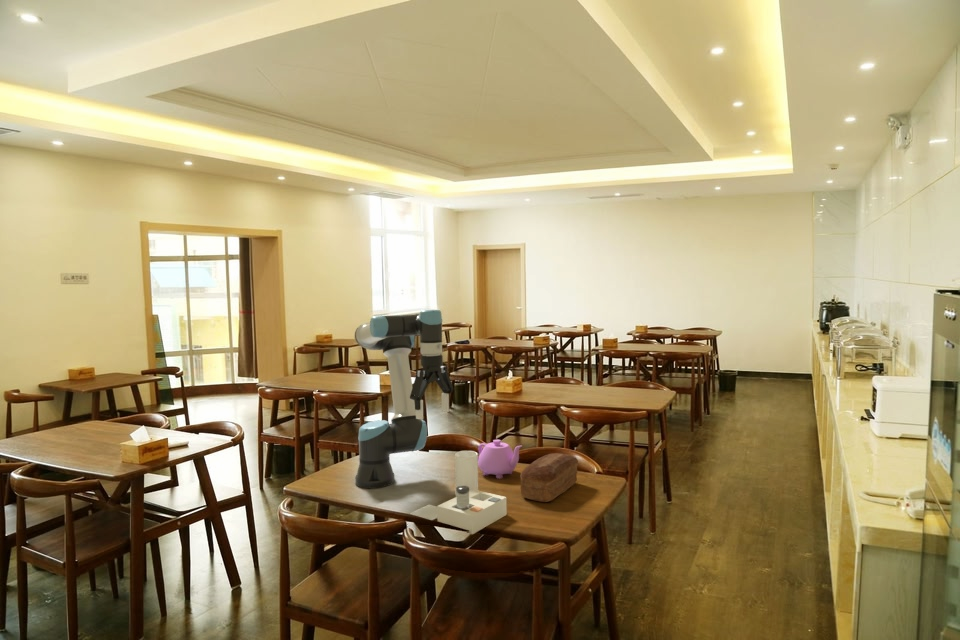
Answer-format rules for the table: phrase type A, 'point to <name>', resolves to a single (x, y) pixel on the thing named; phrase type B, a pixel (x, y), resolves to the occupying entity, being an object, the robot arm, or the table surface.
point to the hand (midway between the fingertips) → (432, 415)
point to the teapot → (497, 458)
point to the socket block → (473, 511)
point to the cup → (466, 469)
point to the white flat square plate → (426, 512)
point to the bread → (548, 477)
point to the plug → (462, 497)
